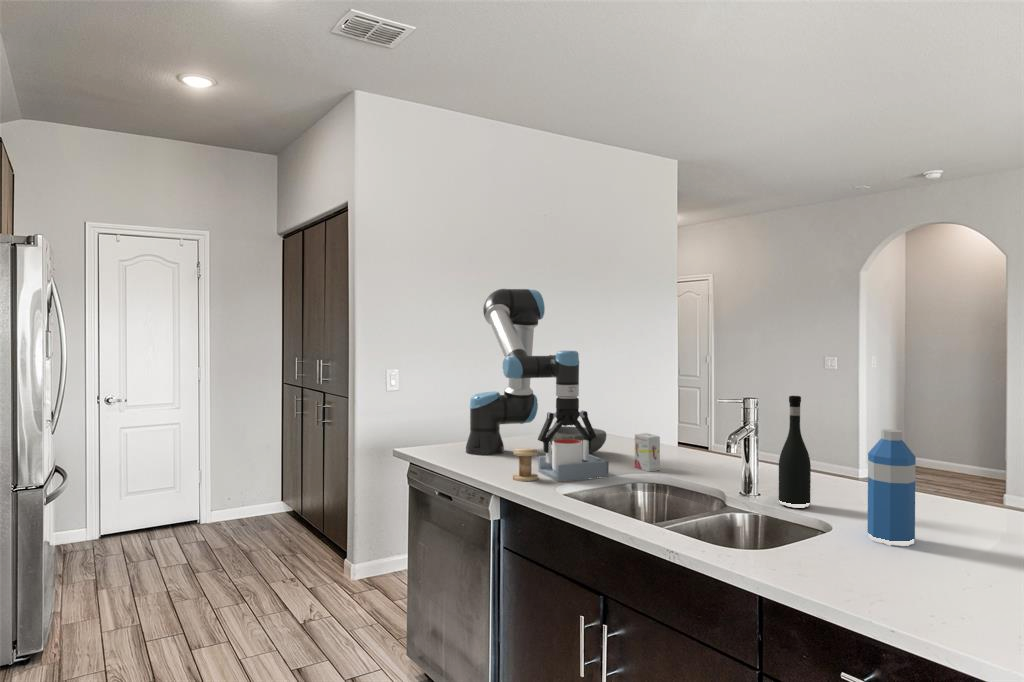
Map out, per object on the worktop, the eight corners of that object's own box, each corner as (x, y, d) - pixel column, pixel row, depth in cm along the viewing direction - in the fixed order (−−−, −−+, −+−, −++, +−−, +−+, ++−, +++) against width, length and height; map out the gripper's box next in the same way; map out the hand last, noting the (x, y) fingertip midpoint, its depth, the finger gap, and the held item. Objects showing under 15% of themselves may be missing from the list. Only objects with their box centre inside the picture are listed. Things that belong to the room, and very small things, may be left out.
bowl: (610, 461, 242) (610, 433, 242) (548, 460, 242) (548, 433, 242) (602, 449, 265) (602, 425, 265) (546, 449, 265) (546, 424, 265)
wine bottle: (786, 500, 185) (786, 394, 184) (815, 505, 179) (815, 395, 179) (773, 505, 179) (774, 395, 179) (803, 511, 174) (803, 398, 173)
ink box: (633, 467, 230) (633, 433, 230) (645, 466, 233) (645, 432, 232) (648, 472, 223) (648, 437, 222) (660, 470, 225) (660, 436, 225)
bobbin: (509, 476, 215) (509, 449, 215) (531, 475, 218) (532, 447, 218) (518, 482, 207) (518, 453, 207) (541, 480, 210) (541, 452, 210)
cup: (582, 468, 222) (582, 439, 222) (582, 474, 212) (582, 444, 212) (552, 467, 223) (552, 438, 223) (551, 474, 213) (551, 443, 213)
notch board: (538, 471, 223) (538, 456, 223) (585, 467, 229) (585, 453, 229) (558, 481, 208) (558, 465, 208) (608, 477, 214) (608, 461, 214)
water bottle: (914, 549, 143) (915, 435, 143) (866, 542, 148) (866, 431, 148) (915, 538, 151) (915, 429, 151) (868, 531, 156) (869, 426, 156)
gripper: (537, 399, 210) (537, 466, 210) (606, 397, 218) (606, 460, 219) (528, 397, 217) (528, 461, 217) (595, 394, 225) (595, 456, 226)
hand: (567, 461), depth 218 cm, fingers open, 13 cm apart
